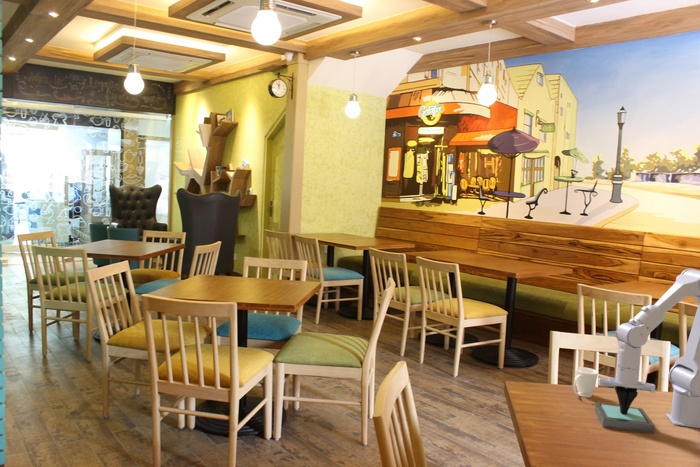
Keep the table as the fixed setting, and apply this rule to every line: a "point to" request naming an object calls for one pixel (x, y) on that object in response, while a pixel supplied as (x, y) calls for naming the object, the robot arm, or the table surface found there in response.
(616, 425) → the plate housing
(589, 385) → the cup
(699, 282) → the robot arm
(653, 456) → the table surface
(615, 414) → the plate
